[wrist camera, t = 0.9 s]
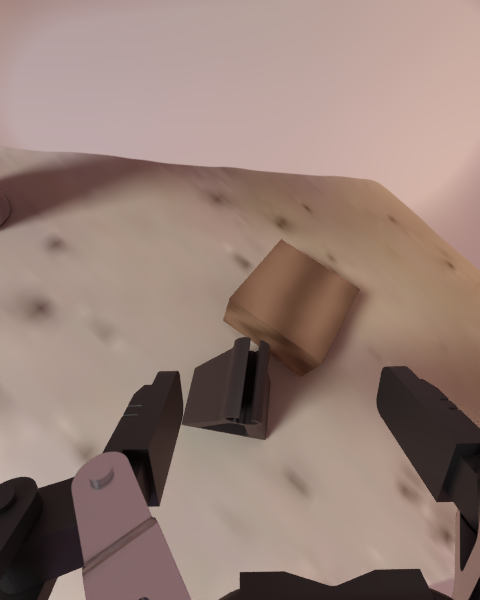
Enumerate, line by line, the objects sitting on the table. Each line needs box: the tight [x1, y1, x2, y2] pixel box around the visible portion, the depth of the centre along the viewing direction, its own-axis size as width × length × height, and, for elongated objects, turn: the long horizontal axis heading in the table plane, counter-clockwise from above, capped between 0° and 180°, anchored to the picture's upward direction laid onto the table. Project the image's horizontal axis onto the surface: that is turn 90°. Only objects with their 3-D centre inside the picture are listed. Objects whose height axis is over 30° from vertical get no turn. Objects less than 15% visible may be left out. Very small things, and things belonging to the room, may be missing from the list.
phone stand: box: [182, 337, 270, 440], centre depth 25 cm, size 9×6×12 cm, turn 81°
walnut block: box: [223, 239, 360, 377], centre depth 35 cm, size 12×12×6 cm
